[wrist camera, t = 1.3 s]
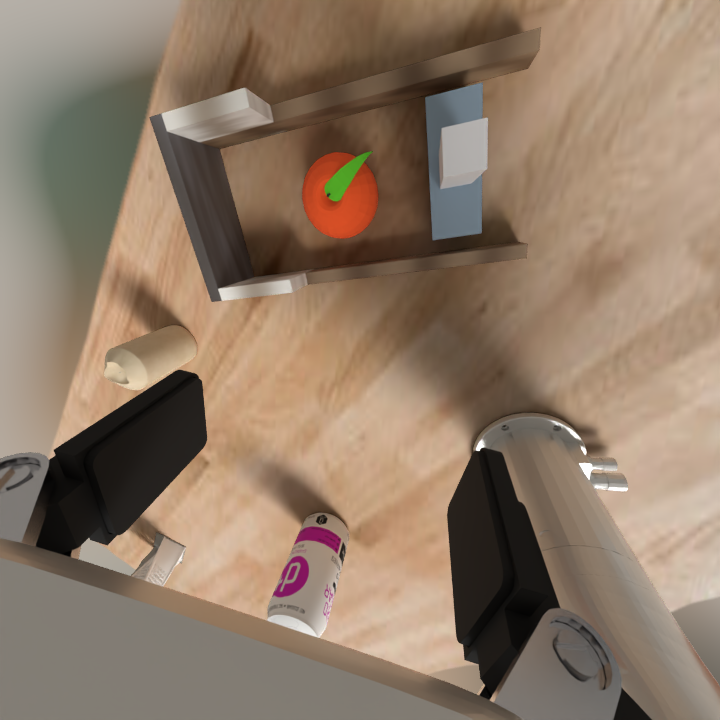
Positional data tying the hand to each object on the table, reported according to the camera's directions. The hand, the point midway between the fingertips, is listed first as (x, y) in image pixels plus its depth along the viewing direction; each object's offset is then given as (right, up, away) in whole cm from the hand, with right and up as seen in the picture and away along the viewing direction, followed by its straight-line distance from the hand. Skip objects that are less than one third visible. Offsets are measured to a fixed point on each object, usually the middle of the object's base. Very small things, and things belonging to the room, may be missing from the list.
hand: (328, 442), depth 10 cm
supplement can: (-5, -26, +42) cm, 50 cm away
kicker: (+10, +20, +18) cm, 28 cm away
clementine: (0, +19, +21) cm, 28 cm away
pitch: (+1, +19, +20) cm, 28 cm away
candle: (-24, +5, +33) cm, 41 cm away
